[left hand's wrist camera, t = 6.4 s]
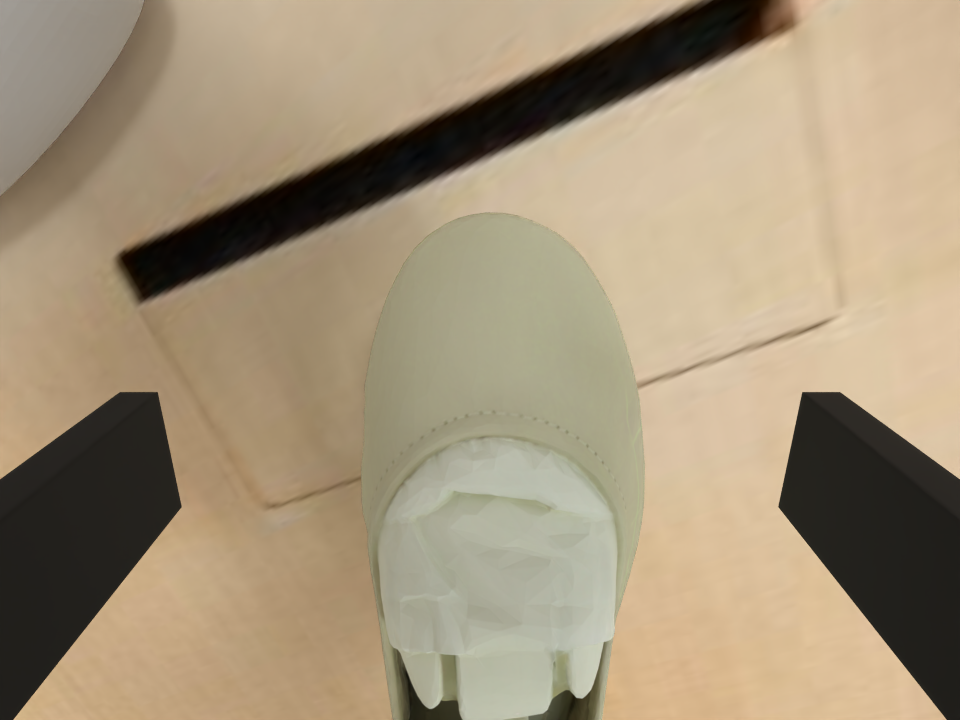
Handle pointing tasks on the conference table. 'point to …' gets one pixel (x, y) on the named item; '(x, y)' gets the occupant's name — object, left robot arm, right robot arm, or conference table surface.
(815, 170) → the conference table surface
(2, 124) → the projector
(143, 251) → the conference table surface
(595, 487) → the ballet flat
